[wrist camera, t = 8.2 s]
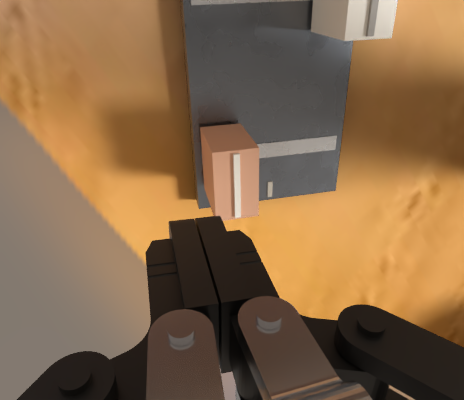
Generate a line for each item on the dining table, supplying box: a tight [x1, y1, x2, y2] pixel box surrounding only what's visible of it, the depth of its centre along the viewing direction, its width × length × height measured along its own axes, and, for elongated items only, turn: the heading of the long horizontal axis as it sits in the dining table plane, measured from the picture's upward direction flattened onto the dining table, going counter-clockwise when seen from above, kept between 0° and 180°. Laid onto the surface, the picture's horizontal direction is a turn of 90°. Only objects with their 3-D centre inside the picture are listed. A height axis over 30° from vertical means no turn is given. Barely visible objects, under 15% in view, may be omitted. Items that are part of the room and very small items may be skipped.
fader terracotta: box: [200, 123, 259, 221], centre depth 28 cm, size 3×5×5 cm, turn 1°
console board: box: [180, 0, 353, 209], centre depth 29 cm, size 12×20×2 cm, turn 1°
